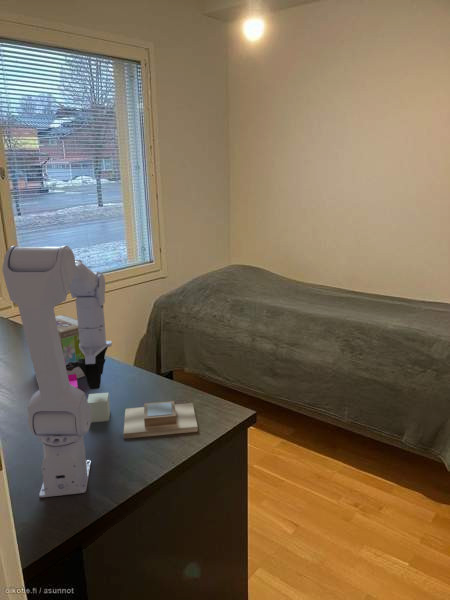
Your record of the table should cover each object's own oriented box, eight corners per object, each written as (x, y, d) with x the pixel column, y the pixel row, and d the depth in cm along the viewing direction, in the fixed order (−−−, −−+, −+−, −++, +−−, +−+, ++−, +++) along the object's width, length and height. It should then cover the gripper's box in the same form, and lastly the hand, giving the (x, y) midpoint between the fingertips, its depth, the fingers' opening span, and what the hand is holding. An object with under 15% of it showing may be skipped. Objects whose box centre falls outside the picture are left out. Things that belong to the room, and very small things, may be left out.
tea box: (97, 372, 134) (92, 323, 130) (65, 384, 127) (60, 332, 123) (68, 359, 144) (63, 312, 140) (37, 369, 136) (31, 321, 132)
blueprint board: (197, 431, 104) (197, 418, 103) (123, 438, 101) (122, 424, 100) (192, 407, 114) (192, 395, 113) (125, 413, 112) (124, 400, 111)
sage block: (108, 421, 108) (107, 401, 107) (88, 422, 108) (86, 403, 106) (110, 411, 113) (108, 392, 111) (90, 413, 112) (89, 394, 111)
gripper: (107, 334, 98) (112, 393, 101) (112, 314, 112) (116, 366, 115) (72, 336, 97) (78, 396, 100) (81, 315, 110) (86, 368, 114)
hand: (96, 380), depth 108 cm, fingers open, 7 cm apart
